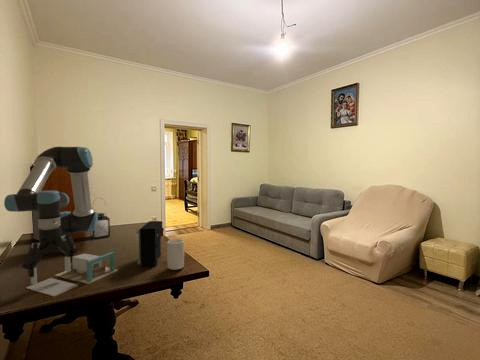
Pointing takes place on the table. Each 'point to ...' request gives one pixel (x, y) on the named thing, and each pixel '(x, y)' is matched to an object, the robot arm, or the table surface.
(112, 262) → the teal arch
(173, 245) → the white can
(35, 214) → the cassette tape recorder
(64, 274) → the clamp base
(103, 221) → the lantern
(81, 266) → the white brown box
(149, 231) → the electrical component
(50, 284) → the mat
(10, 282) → the table surface
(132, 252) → the table surface
